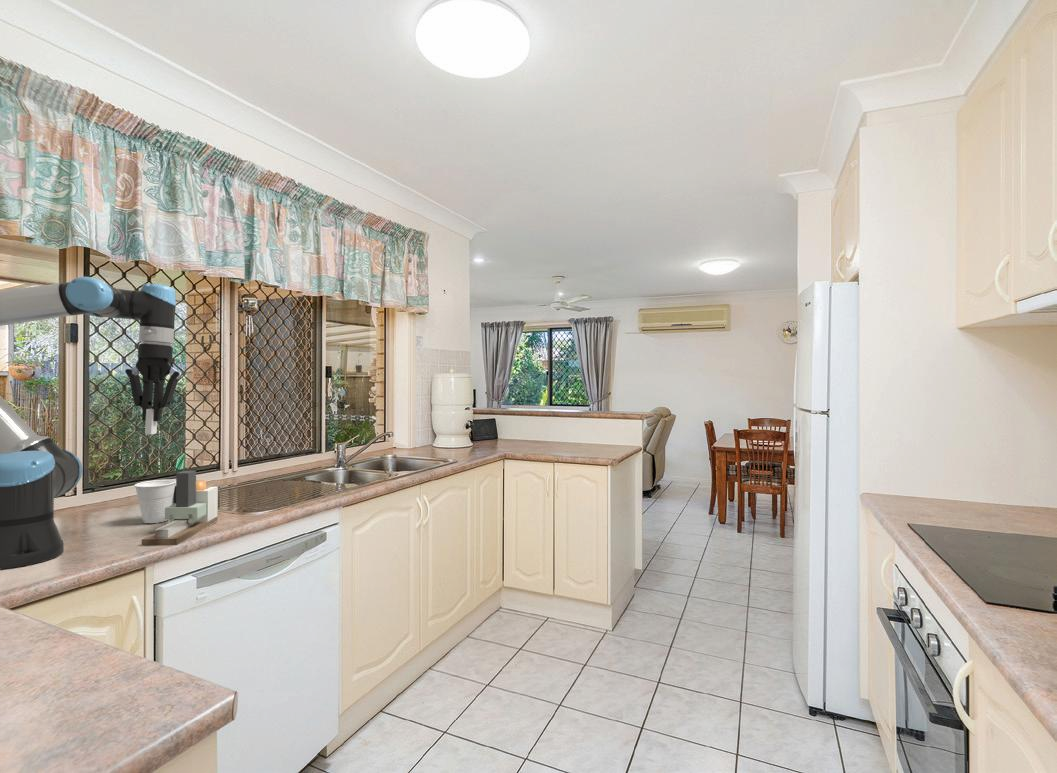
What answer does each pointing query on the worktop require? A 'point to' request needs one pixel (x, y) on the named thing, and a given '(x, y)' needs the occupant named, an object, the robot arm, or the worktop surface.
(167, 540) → the track
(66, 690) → the worktop surface
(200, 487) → the button
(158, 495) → the cup
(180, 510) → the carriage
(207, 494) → the cabinet
